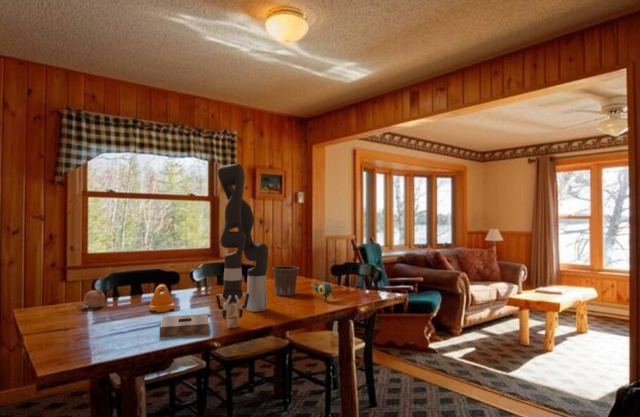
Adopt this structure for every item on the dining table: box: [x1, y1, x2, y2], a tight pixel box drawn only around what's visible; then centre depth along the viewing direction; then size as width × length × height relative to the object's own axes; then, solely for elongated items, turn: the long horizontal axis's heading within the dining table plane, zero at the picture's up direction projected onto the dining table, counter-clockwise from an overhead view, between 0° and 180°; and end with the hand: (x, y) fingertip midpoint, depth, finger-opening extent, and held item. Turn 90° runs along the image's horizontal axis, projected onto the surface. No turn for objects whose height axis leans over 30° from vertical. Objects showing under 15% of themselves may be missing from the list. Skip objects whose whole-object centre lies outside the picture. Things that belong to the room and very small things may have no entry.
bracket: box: [148, 284, 175, 313], centre depth 195 cm, size 11×7×12 cm, turn 119°
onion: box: [83, 289, 106, 309], centre depth 199 cm, size 10×9×10 cm
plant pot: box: [271, 265, 300, 297], centre depth 236 cm, size 16×16×16 cm
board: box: [159, 313, 209, 338], centre depth 161 cm, size 18×16×4 cm
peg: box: [227, 302, 238, 329], centre depth 167 cm, size 4×4×10 cm
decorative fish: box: [313, 273, 334, 302], centre depth 218 cm, size 13×12×6 cm
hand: (232, 318), depth 167 cm, fingers open, 5 cm apart
